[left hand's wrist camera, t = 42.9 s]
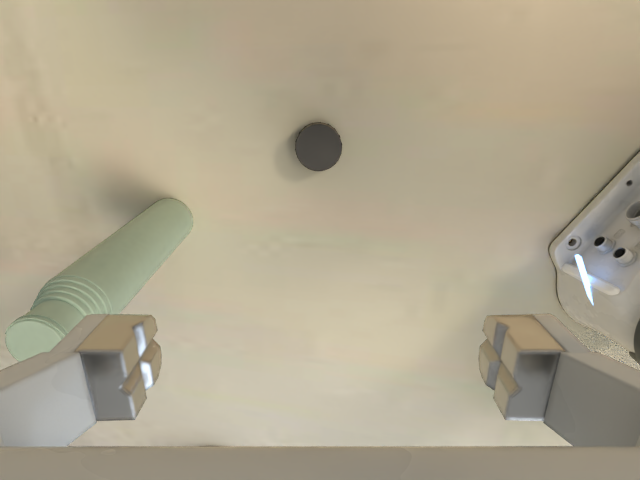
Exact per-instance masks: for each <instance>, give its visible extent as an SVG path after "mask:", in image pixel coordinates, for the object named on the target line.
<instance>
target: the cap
mask: <svg viewBox="0 0 640 480" xmlns="http://www.w3.org/2000/svg"><path fill="white" fill-rule="evenodd" d="M295 150H296V154H297V157H298V159H299V161H300V162H301V163H302V164H303V165H304V166H305V167H307V168H308V169H311V170H314V171H323V170H327V169H329V168H331V167H332V166H333V165H335V164H336V162H337V161H338V160H339V158H340V155H341V151H342V143H341V140H340V135H338V133H337V132H336V130H335V128H333V127H331V126H330V125H329V124H325V123H321V122H317V123H312V124H309V125H308V126H305V128H304V129H303V130H302V131H301V132H300V133H299V136H298V138H297V140H296V149H295Z"/></svg>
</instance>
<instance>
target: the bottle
mask: <svg viewBox="0 0 640 480" xmlns="http://www.w3.org/2000/svg"><path fill="white" fill-rule="evenodd" d="M192 226H193V217H192V214H191V212H190V210H189V209H188V207H187V206H186V205H185V204H183V203H182V202H180V201H178V200H175V199H170V198H166V199H161V200H159V201H157V202H156V203H154V204H153V205H152V206H150V207H149V208H148V209H146V210H145V211H144V212H142V213H141V214H139V215H138V216H137V217H135V218H134V219H133V220H131V221H130V222H129V223H127V224H126V225H124V226H123V227H122V228H120V229H119V230H118V231H116V232H115V233H114V234H112V235H111V236H110V237H108V238H107V239H105V240H104V241H103V242H101V243H100V244H99V245H97V246H96V247H95V248H93V249H92V250H90V251H89V252H88V253H86V254H85V255H84V256H82V257H81V258H80V259H78V260H77V261H76V262H74V263H73V264H71V265H70V266H69V267H67V268H66V269H65V270H63V271H62V272H61V273H59V274H58V275H56V276H55V277H54V278H52V279H51V280H50V281H48V282H47V283H46V284H45V286H44V287H43V288H42V289H41V290H40V292H39V294H38V296H37V298H36V300H35V302H34V303H33V306H32V307H31V310H30V312H28V313H27V314H26V315H24V316H22V317H20V318H18V319H17V320H16V321H14V322H13V323H12V324H11V325H10V326H9V327H8V328H7V330H6V332H5V334H6V338H5V340H6V346H7V348H8V350H9V352H10V353H11V355H12V356H13V357H14V358H15V359H16V360H18V361H19V362H21V361H23V360H26V359H28V358H30V357H32V356H35V355H37V354H39V353H42V352H50V351H51V350H52V349H53V348H54V347H55V346H56V345H57V344H58V343H59V342H60V341H61V340H62V339H63V338H64V337H65V336H66V335H67V334H68V333H69V332H70V331H71V330H72V329H73V328H74V327H75V326H76V325H77V324H78V323H79V322H80V321H81V320H82V319H83V318H84V317H85V316H86V315H90V314H120V312H121V311H122V310H123V309H124V308H125V307H126V305H127V304H128V303H129V302H130V301H131V300H132V299H133V297H134V296H135V295H136V294H137V293H138V292H139V290H140V289H141V288H142V287H143V286H144V285H145V284H146V282H147V281H148V280H149V279H150V278H151V277H152V275H153V274H154V273H155V272H156V271H157V270H158V268H159V267H160V266H161V265H162V264H163V263H164V262H165V260H166V259H167V258H168V257H169V256H170V255H171V253H172V252H173V251H174V250H175V249H176V248H177V247H178V245H179V244H180V243H181V242H182V241H183V240H184V238H185V237H186V236H187V235H188V234H189V233H190V231H191V229H192Z"/></svg>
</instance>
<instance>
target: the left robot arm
mask: <svg viewBox="0 0 640 480" xmlns="http://www.w3.org/2000/svg"><path fill="white" fill-rule="evenodd" d="M571 239H573V241H572V242H571V243H569V244H568V242H569V240H571ZM549 252H550V256H551V259H552V261H553V263H554V265H555V267H556V269H557V293H558V298H559V301H560V304H561V306H562V307H563V309H564V311H565V312H566V313H567V314H568V315H569V316H570V317H571V318H572V319H573V320H574V321H576V322H577V323H579V324H581V325H583V326H586V327H588V328H591V329H593V330H595V331H597V332H599V333H601V334H603V335H604V336H606V337H608V338H609V339H611V340H613V341H614V342H616V343H617V344H619V345H620V346H622V347H623V348H624V349H626V350H627V351H629V354H630V356H631V357H632V358H633V359H634V360H635V361H636V362H638V363H639V364H640V152H639V153H638V154H637V155H636V156H635V157H634V158H633V159H632V160H631V161H630V162H629V163H628V164H627V165H626V166H625V167H624V168H623V169H622V170H621V171H620V172H619V174H618V175H617V176H616V177H615V178H614V179H613V180H612V181H611V182H610V183H609V184H608V185H607V186H606V187H605V188H604V189H603V190H602V191H601V192H600V193H599V194H598V195H597V196H596V197H595V198H594V200H593V201H592V202H591V203H590V204H589V205H588V206H587V207H586V208H585V209H584V210H583V211H582V212H581V213H580V214H579V215H578V216H577V217H576V218H575V219H574V220H573V221H572V222H571V223H570V224H569V225H568V227H567V228H566V229H565V230H564V231H563V232H562V233H561V234H560V235H559V236H558V237H557V238H556V239H555V240H554V241H553V242H552V244H551V245H550V248H549ZM156 332H157V326H156V321H155V318H154V317H153V316H152V315H128V314H90V315H86V316H85V317H84V318H83V319H82V320H81V321H80V322H79V323H78V324H77V325H76V326H75V327H74V328H73V329H72V330H71V331H70V332H69V333H68V334H67V335H66V336H65V337H64V338H63V339H62V340H61V341H60V342H59V343H58V344H57V345H56V346H55V347H54V348H53V349H52V350H51V351H50V352H42V353H39V354H37V355H35V356H32V357H30V358H28V359H26V360H23V361H21V362H19V363H17V364H14V365H12V366H10V367H7V368H5V369H3V370H1V371H0V480H640V371H639V370H637V369H635V368H632V367H630V366H628V365H626V364H623V363H621V362H619V361H617V360H614V359H612V358H610V357H608V356H605V355H603V354H601V353H598V352H590V351H589V350H588V349H587V348H586V347H585V346H584V345H583V344H582V343H581V342H580V341H579V340H578V339H577V338H576V337H575V336H574V335H573V334H572V333H571V332H570V331H569V330H568V329H567V328H566V327H565V326H564V325H563V324H562V323H561V322H560V321H559V320H558V319H557V318H556V317H555V316H554V315H551V314H527V315H490V316H487V317H486V319H485V321H484V325H483V332H484V334H485V335H486V337H487V339H486V340H485V342H484V343H483V344H482V345H481V346H480V350H479V369H480V372H481V376H482V378H483V380H484V382H485V384H486V385H487V386H488V387H490V388H491V389H493V390H494V391H495V392H494V397H493V399H494V401H495V402H496V404H497V406H498V408H499V410H500V411H501V413H502V415H503V417H504V419H505V420H530V421H544V422H543V423H545V424H546V425H547V426H548V427H550V428H551V429H552V430H553V431H555V432H556V433H557V434H559V435H560V436H561V437H562V438H564V439H565V440H566V441H568V442H569V443H570V444H571V445H573V446H434V447H250V446H67V445H69V444H70V443H71V442H73V441H74V440H75V439H76V438H78V437H79V436H80V435H82V434H83V433H84V432H85V431H87V430H88V429H89V428H91V427H92V426H93V425H94V424H96V421H109V420H135V419H136V417H137V415H138V413H139V411H140V410H141V408H142V406H143V404H144V402H145V401H146V399H147V397H146V392H145V391H146V390H147V389H149V388H150V387H152V386H153V385H154V384H155V382H156V380H157V378H158V376H159V372H160V368H161V349H160V346H159V345H158V344H157V343H156V342H155V341H154V339H153V337H154V335H155V334H156Z"/></svg>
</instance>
